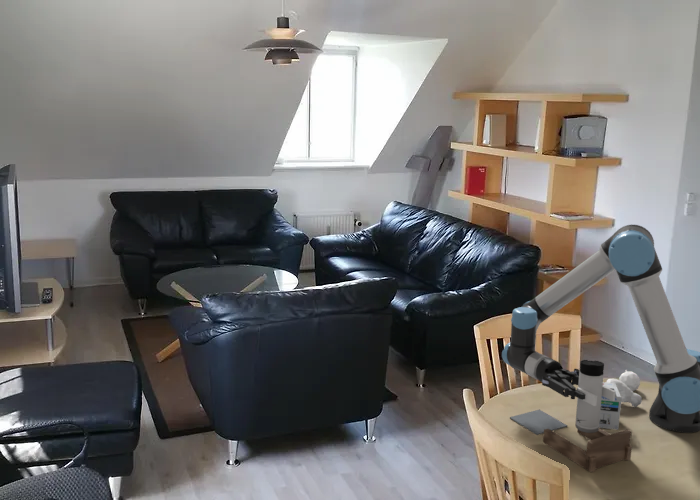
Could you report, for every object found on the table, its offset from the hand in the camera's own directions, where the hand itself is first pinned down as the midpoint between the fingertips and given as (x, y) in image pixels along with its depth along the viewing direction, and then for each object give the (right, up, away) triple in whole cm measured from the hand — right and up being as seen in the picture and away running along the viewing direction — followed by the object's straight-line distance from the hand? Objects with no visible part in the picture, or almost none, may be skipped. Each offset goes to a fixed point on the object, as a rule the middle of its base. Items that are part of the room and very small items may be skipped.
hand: (605, 398), depth 188 cm
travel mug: (-2, -10, +7) cm, 12 cm away
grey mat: (-11, -12, +24) cm, 30 cm away
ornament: (+26, -8, +49) cm, 56 cm away
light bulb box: (+9, -13, +26) cm, 31 cm away
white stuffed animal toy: (+19, -10, +38) cm, 44 cm away
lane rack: (-2, -16, +8) cm, 18 cm away
